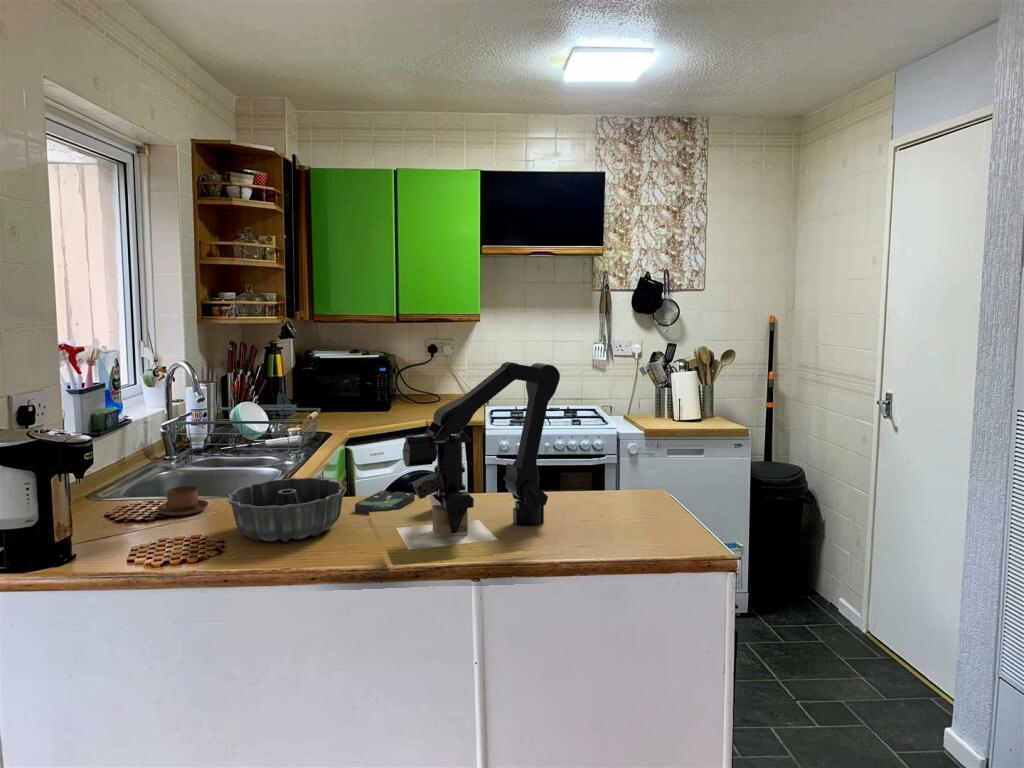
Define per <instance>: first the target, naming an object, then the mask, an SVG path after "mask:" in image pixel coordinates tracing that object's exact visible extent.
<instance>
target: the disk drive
mask: <svg viewBox="0 0 1024 768" xmlns="http://www.w3.org/2000/svg"><path fill="white" fill-rule="evenodd" d="M415 495H416V493H415V492H403V491H402V492H401V491H394V492H390V491H389V490H380V491H378V492H376V493H374V494H371V495H370V496H368V497H366V498H364V499H363V500H359V501H358V502H356V503H355V504H354V509H355V510H354V511H355V512H354V513H362V514H369V513H378V512H379V513H380V512H387V511H389V512H391V511H399V510H401V509H404V508H405V507H407V506H409V505H410V504H413V503H414V502H415V500H416V499H415V498H416V497H415Z"/></svg>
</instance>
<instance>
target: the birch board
mask: <svg viewBox="0 0 1024 768" xmlns="http://www.w3.org/2000/svg"><path fill="white" fill-rule="evenodd" d="M432 528H433V524H426V525H425V524H424V525H423V524H422V525H415V526H414V525H413V526H405V527H404V526H402V527H396V530H397V532H398V533H399V536H400V538H401V539H402V541H403V543H404V545H405V546H406V548H407V550H408V551H409V550H415V549H425V548H436V547H445V546H455V545H462V544H463V545H465V544H474V543H481V542H492V541H498V538H497V537H496V536H495V535H494V534H493V533H492V532H491V531H490V530H489V529H488V528H487V527H486V526H485V525H484V524H483V523H482V522H481V521H480V520H479V519H475V520H474V519H473V520H468V535H457V536H447V537H437V536H436V535H435V534H434V532H433V529H432Z"/></svg>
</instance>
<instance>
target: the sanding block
mask: <svg viewBox="0 0 1024 768" xmlns="http://www.w3.org/2000/svg"><path fill="white" fill-rule="evenodd" d="M468 509H469V508H468ZM468 509H467V511H466V513H465V515H464V517H463V519H462V521H461V524H460V526H459V528H458V530H457V532H456V533H452V532H451V527H450V522H449V517H448V512H447V511H446V510H445V509H444V508H443V507H442V506H441V505H433V511H432V525H433V528H432V529H433V532H434V534H435V535H436V536H437V537H447V536H457V535H468V521H469V520H468V518H469V517H468V512H469V511H468Z"/></svg>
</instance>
